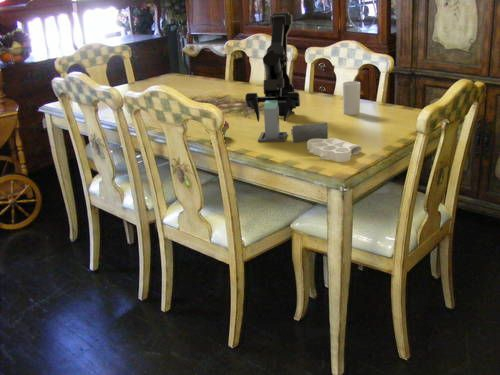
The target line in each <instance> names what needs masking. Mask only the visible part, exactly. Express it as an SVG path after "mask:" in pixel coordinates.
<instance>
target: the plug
mask: <svg viewBox="0 0 500 375" xmlns="http://www.w3.org/2000/svg"><path fill="white" fill-rule="evenodd" d="M263 103H264V109H263V117H264V119H263V120H264V132H265V139H279V137H280V132H281V131H280V129H281V128H280V115H279V106H278V100H266V101H265V102H263Z"/></svg>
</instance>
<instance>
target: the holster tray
mask: <svg viewBox="0 0 500 375" xmlns="http://www.w3.org/2000/svg"><path fill="white" fill-rule="evenodd" d="M287 135H288V132H287V131H280V137H279V139H265V131H261V134H260V135H259V137H258V139H257V142H258V143H284V142H285V141H286V138H287Z"/></svg>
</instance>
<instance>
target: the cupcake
mask: <svg viewBox="0 0 500 375" xmlns="http://www.w3.org/2000/svg"><path fill="white" fill-rule="evenodd" d="M215 106H216V104H215V105H214V107H215ZM216 107H217V106H216ZM228 129H230V124H229V122H227V120H225V124H224V127H223V128H222V132H223V135H224V138H225V136H226V133H227V130H228ZM205 131H206V132H207V133H208V134H209V132H208V131H207V130H206V129H205Z"/></svg>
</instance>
